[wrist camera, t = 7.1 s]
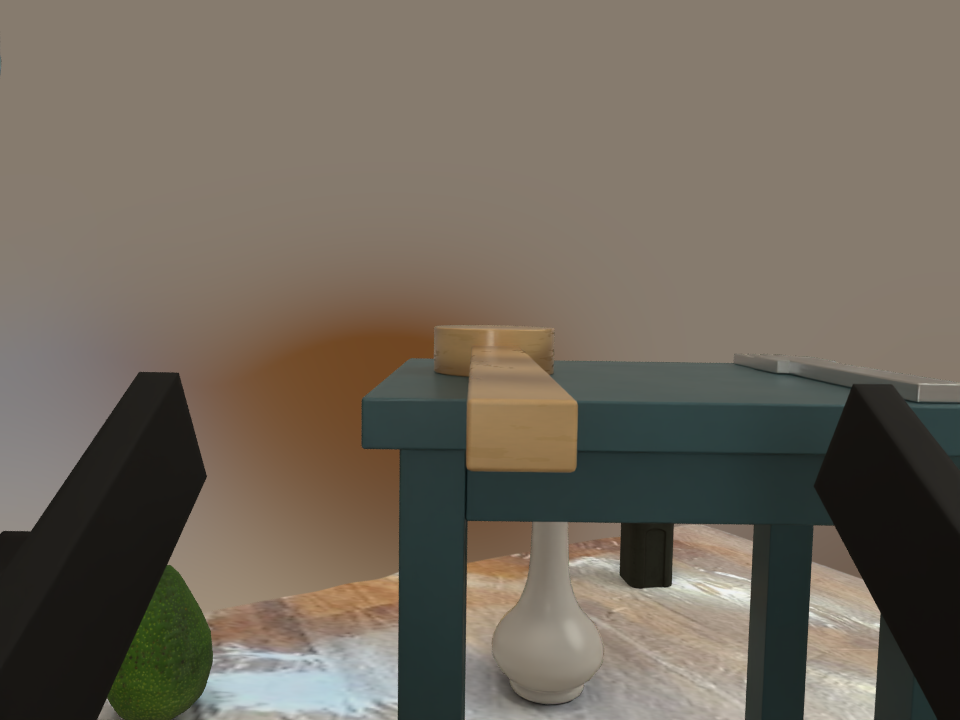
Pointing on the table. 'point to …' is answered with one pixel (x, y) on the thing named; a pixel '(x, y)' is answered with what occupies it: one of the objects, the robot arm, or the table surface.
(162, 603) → the avocado
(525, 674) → the flower vase
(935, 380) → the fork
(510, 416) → the wooden spoon
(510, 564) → the table surface
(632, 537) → the candle
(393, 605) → the table surface
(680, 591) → the table surface
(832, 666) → the table surface
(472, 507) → the stand
